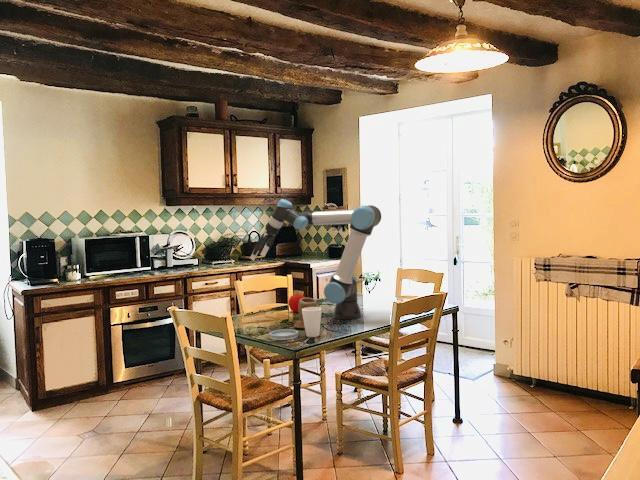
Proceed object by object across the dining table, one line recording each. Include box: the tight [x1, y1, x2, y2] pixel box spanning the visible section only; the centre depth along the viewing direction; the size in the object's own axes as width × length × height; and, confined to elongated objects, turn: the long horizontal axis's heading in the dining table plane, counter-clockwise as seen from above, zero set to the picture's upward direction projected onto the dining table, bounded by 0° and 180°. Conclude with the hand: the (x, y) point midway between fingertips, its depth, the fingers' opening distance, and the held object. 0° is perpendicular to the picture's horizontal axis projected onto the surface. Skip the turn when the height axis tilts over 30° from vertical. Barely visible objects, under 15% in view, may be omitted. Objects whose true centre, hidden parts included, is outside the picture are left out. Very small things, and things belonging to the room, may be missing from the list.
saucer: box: [268, 328, 299, 341], centre depth 275 cm, size 14×14×2 cm
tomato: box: [288, 293, 306, 313], centre depth 334 cm, size 10×11×11 cm
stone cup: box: [293, 297, 318, 329], centre depth 294 cm, size 15×12×15 cm
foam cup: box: [302, 306, 323, 338], centre depth 274 cm, size 10×9×13 cm
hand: (257, 257), depth 318 cm, fingers open, 13 cm apart
